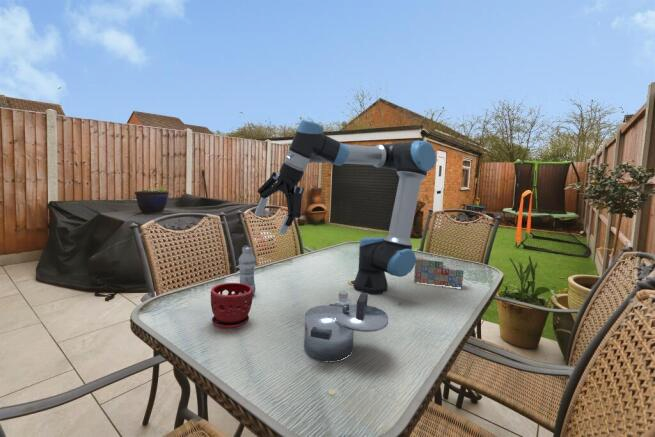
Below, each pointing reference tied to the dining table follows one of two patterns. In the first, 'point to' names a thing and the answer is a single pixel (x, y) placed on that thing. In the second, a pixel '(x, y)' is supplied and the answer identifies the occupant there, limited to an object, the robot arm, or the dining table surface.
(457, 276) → the stack of blocks
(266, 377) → the dining table surface
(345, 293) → the salt shaker
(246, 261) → the plastic bottle
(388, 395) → the dining table surface
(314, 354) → the pot
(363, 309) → the lid
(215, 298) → the plant pot
